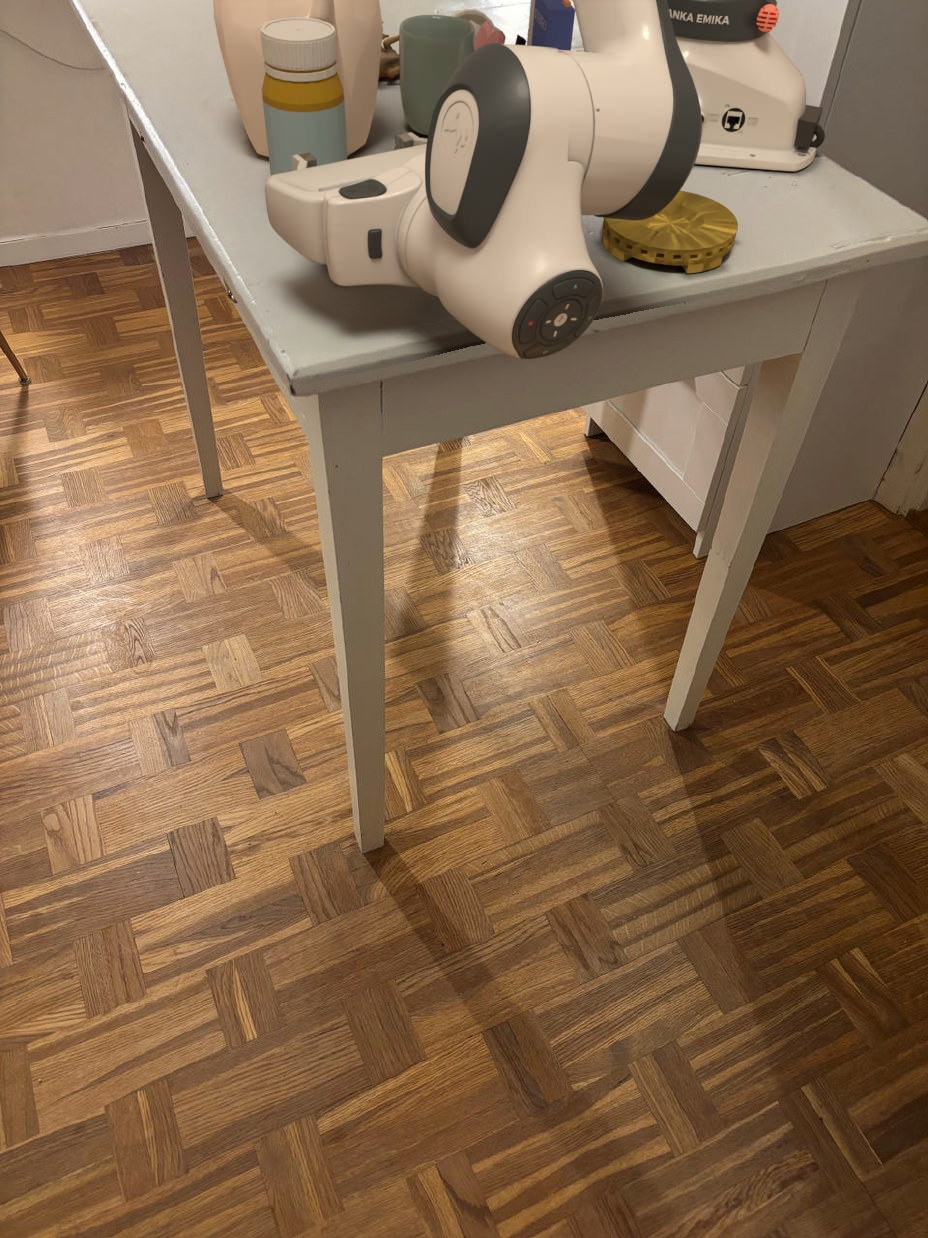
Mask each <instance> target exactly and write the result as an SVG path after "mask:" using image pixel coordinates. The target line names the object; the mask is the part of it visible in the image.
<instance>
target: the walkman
mask: <svg viewBox="0 0 928 1238" xmlns="http://www.w3.org/2000/svg"><path fill="white" fill-rule="evenodd" d="M529 4H530V5H529V17H528V28H527V38H526V45H527V46H539V47H551V48H557V49H558V50H567V51H572V43H573V34H574V25H575V16H576V12H575V8H574V6H573V5H572V1H570V0H530V3H529Z"/></svg>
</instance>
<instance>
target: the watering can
mask: <svg viewBox="0 0 928 1238" xmlns="http://www.w3.org/2000/svg"><path fill="white" fill-rule="evenodd" d="M212 5H213V19H214V24H215V29H216V35H217V41H218V45H219V50H220V53H221V57H222V60H223V61H222V62H223V65H224V69H225V73H226V76H227V80H228V84H229V87H230V90H231V94H232V98H233V99H234V102H235V104H236V108H237V110H238V113H239V115H240V118H241V122H242V124H243V127H244V129H245V132H246V134H247V136H248V138H249V141H250V143H251V144H252V147H253V149H254V150H255V152H256V153H257V154H258V155H261V156H263V157H267V158H269V153H268V144H267V135H266V126H265V117H264V108H263V99H262V96H263V95H262V86H263V82H264V77H265V72H266V71H265V68H264V57H263V51H262V42H261V27H262V26H263V25H264V24H265V23H267V22H269V21H272V20H276V19H282V18H292V17H302V18H313V19H318V20H322V21H325V22H328V23H330V24H332V25H333V26H334V28H335V31H336V46H337V57H336V60H337V73H338V76H339V79H340V81H341V84H342V87H343V90H344V103H345V123H346V142H347V157H348V156H350V155H351V154H353V153H355V152H356V151H357V150H359V149H360V148H361V147H364V146H365V145H366V143H367V140H368V138H369V134H370V131H371V126H372V123H373V122H372V121H373V118H374V114H375V108H376V104H377V99H378V98H377V97H378V87H379V79H380V78H379V67H380V56H381V46H382V47H383V40H382V35H383V34H384V25H383V23H382V21H383V19H382V13H381V6H380V0H212ZM378 78H379V79H378Z"/></svg>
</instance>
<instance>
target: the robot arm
mask: <svg viewBox="0 0 928 1238" xmlns="http://www.w3.org/2000/svg"><path fill="white" fill-rule="evenodd" d="M572 3H573V8H574V9H575V16H576V20H577V25H578V29H579V30H578V31H579V33H580V39H581V43H582V47H583V51H579V50H576V51H575V50H571V51H567V50H558V49H557V48H551V47H539V46H527V44H525V45H515V44H512V43H511V44H509V43H506V44H505V43H504V44H499V43H489V44H486V45H483V46H481V47H479V48H478V49H476V50H475V51H474V52H472V53H471V54H470V55H469V56H468V57H467V58H466V59H465V60H464V61H463V62H462V63H461V64H460V65H459V67H458V68H457V69H456V71H455V72H454V73H453V75H452V76H451V78H450V79H449V81H448V83H447V84H446V86H445V88H444V90H443V92H442V94H441V96H440V98H439V100H438V102H437V104H436V107H435V110H434V112H433V116H432V120H431V124H430V128H429V133H428V136H427V138H425V137H419V136H418V135H416V134H415V133H414V132H412V131H410V132H405V133H400V134H396V135H395V136H394V143H395V146H394V150H389V151H384V152H379V153H375V154H368V155H364V156H360V157H355V158H350V159H347V160H344V161H339V162H334V163H330V164H325V165H320V166H317V159H316V158H315V157H314V156H312V155H311V154H310V153H304V154H299V155H293V156H292V157H291V162H292V171H290V172H285V173H280V174H275V175H272V176H271V175H270V176H269V177H268V179H267V181H266V183H265V187H264V193H265V194H264V196H265V205H266V213H267V218H268V221H269V224H270V226H271V228H272V230H273V231H274V232H275V233H276V234H277V235H278V236H279V237H280V238H281V239H282V240H283V241H284V242H285V243H286V244H287V245H289V246H290V247H291V248H292V249H293V250H294V251H296V252H297V253H298V254H300V255H301V256H302V257H304V258H305V259H307V260H309V261H311V262H313V263H316V264H319V265H324V266H325V265H326V267H327V271H328V276H329V279H330V280H331V281H332V282H333V283H334V284H336V285H337V286H341V287H357V286H358V287H359V286H372V285H373V286H374V285H375V286H377V285H378V286H380V285H382V286H383V285H384V286H385V285H386V286H387V285H388V286H400V287H405V288H406V287H407V288H421V289H422V290H423V291H425V292H426V293H428V294H430V295H431V296H434V297H437V298H439V301H440V303H441V304H442V306H443V307H444V309H445V310H446V311H447V312H448V313H449V314H450V315H451V316H452V317H453V318H454V319H456V321H457V322H459V323H460V324H461V325H462V326H463V327H464V328H466V329H467V330H468V331H470V332H471V333H472V334H473V335H474V336H476V337H477V338H479V339H480V340H481V341H483V342H484V343H487V344H488V345H489V346H491V348H494V349H496V350H498V351H499V352H502V353H503V354H505V355H508V356H509V357H510V356H511V357H514V358H516V359H521V360H523V359H524V360H532V359H533V360H534V359H539V358H544V357H548V356H552V355H553V354H556V353H559V352H561V351H562V350H564V349H566V348H568V347H569V346H570V345H572V344H573V343H574V342H575V341H577V340H578V339H579V338H581V336H582V335H583V334H584V333H585V332H586V330H588V328H589V327H590V326H591V324H592V323H593V321H594V320H595V318H596V316H597V315H598V313H599V311H600V308H601V306H602V303H603V297H604V284H603V281H602V278H601V276H600V274H599V272H598V270H597V268H596V267H595V265H594V263H593V261H592V259H591V257H590V254H589V251H588V248H587V244H586V239H585V233H584V227H583V220H582V216H594V217H596V218H603V219H604V218H613V219H623V220H632V221H639V220H644V219H648V218H650V217H652V216H654V215H656V214H657V213H659V212H660V211H661V210H663V209H664V208H665V207H666V206H667V205H668V204H669V203H670V202H671V201H672V200H673V198H674V197H675V196H676V195H677V193H678V192H679V191H681V190H682V188H683V186H684V185H685V184H686V182H687V180H688V178H689V176H690V175H691V173H692V171H693V168H694V166H695V165H704V166H718V167H728V168H742V169H755V170H756V169H757V170H768V171H780V172H781V171H782V172H797V171H801V170H803V169H805V168H806V167H808V166H809V165H810V164H812V162H813V161H814V159H815V157H816V154H817V149H818V148H820V146H821V145H822V144H823V143H824V141H825V137H826V133H825V130H824V129H823V127H822V126H821V124H819V123H820V120H821V117H822V113H823V111H824V108H823V107H822V106H821V107H820V106H815V105H810V104H807V87H806V82H805V79H804V76H803V74H802V71H801V70H800V69H799V68H798V67H797V66H796V65H795V63H794V62H793V61H792V59H791V58H790V57H789V56H788V54H787V53H786V52H785V51H784V49H783V48H782V47H781V46H780V45H779V43H778V42H777V41H776V39H775V38H774V37H773V36H772V34H771V33H770V32H771V31H773V28H776V26H777V24H778V22H779V17H780V11H779V9H778V7H777V5H778V1H777V0H572Z"/></svg>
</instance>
